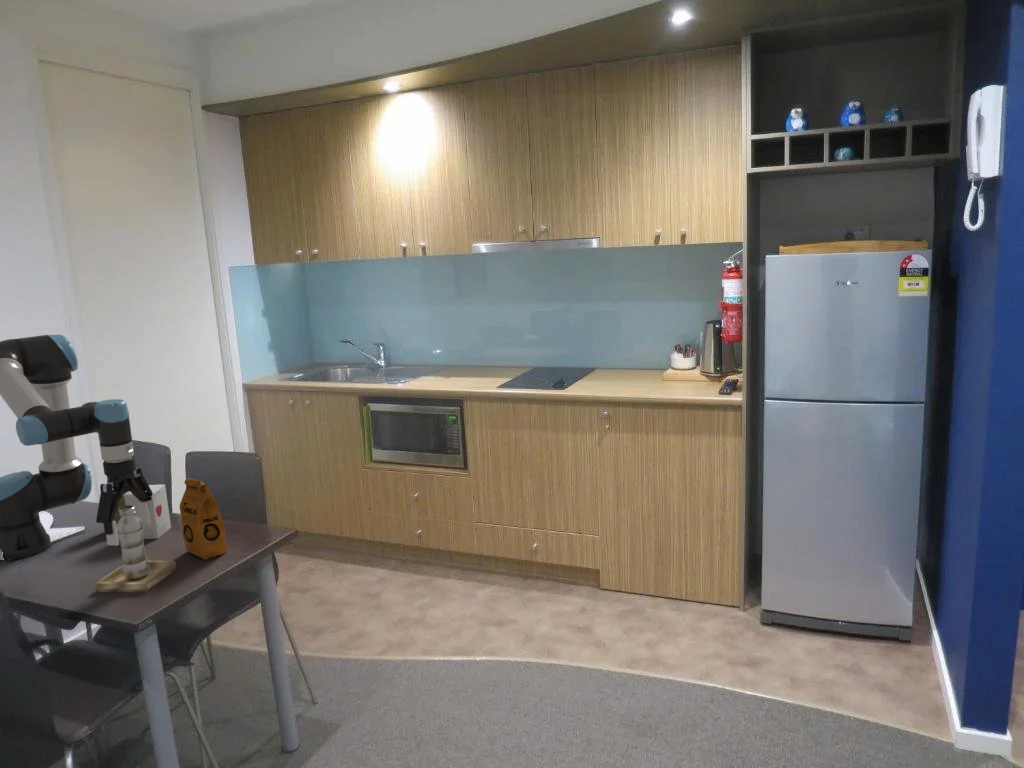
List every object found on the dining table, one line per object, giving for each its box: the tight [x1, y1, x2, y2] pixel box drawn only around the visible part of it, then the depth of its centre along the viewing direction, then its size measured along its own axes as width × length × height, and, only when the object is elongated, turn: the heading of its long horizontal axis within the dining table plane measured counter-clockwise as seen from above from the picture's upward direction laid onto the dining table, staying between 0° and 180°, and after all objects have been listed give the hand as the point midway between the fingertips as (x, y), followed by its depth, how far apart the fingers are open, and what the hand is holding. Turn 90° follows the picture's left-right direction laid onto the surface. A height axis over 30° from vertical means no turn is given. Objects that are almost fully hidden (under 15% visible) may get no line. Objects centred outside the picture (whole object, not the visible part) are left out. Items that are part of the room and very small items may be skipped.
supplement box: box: [124, 484, 172, 540], centre depth 228 cm, size 9×9×15 cm
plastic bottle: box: [116, 505, 149, 580], centre depth 195 cm, size 6×7×20 cm
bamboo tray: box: [94, 559, 177, 594], centre depth 197 cm, size 14×14×2 cm
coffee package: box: [179, 477, 228, 561], centre depth 212 cm, size 10×12×22 cm
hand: (130, 534), depth 195 cm, fingers open, 13 cm apart
